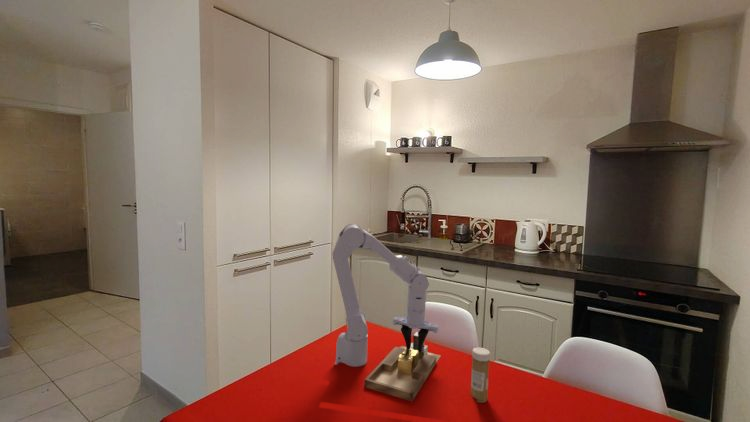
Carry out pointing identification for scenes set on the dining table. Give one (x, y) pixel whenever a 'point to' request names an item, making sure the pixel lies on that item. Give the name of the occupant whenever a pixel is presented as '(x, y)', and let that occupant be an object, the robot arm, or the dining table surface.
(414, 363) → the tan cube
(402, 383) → the slot board
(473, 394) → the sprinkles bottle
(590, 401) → the dining table surface
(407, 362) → the golden brown cube
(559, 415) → the dining table surface
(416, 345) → the brushed metal block
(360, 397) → the dining table surface
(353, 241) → the robot arm
